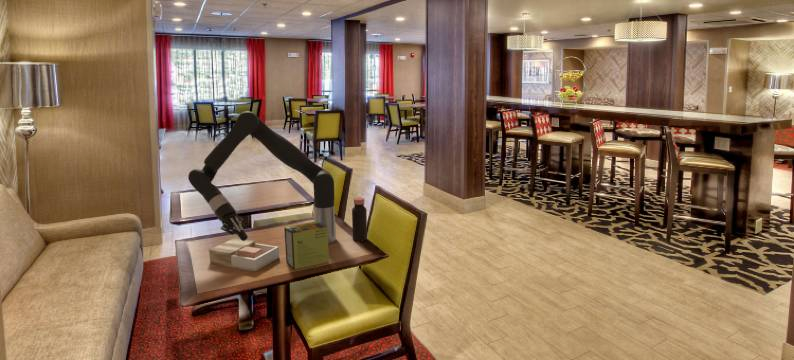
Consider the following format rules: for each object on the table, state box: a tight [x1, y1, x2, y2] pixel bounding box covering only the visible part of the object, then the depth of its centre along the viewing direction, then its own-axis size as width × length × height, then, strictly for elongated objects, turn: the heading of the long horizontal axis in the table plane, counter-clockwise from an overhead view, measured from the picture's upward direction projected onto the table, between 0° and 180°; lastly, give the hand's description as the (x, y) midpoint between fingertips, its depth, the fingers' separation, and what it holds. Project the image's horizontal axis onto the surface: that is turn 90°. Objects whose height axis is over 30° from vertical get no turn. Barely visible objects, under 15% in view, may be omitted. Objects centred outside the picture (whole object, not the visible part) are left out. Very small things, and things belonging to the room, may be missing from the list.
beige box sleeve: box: [208, 237, 256, 268], centre depth 215 cm, size 16×11×6 cm
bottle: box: [351, 196, 368, 242], centre depth 236 cm, size 7×7×20 cm
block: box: [238, 247, 262, 259], centre depth 210 cm, size 5×5×8 cm
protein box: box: [283, 220, 330, 270], centre depth 210 cm, size 10×15×16 cm
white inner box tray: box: [231, 242, 280, 272], centre depth 211 cm, size 16×12×5 cm
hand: (245, 239), depth 210 cm, fingers closed
